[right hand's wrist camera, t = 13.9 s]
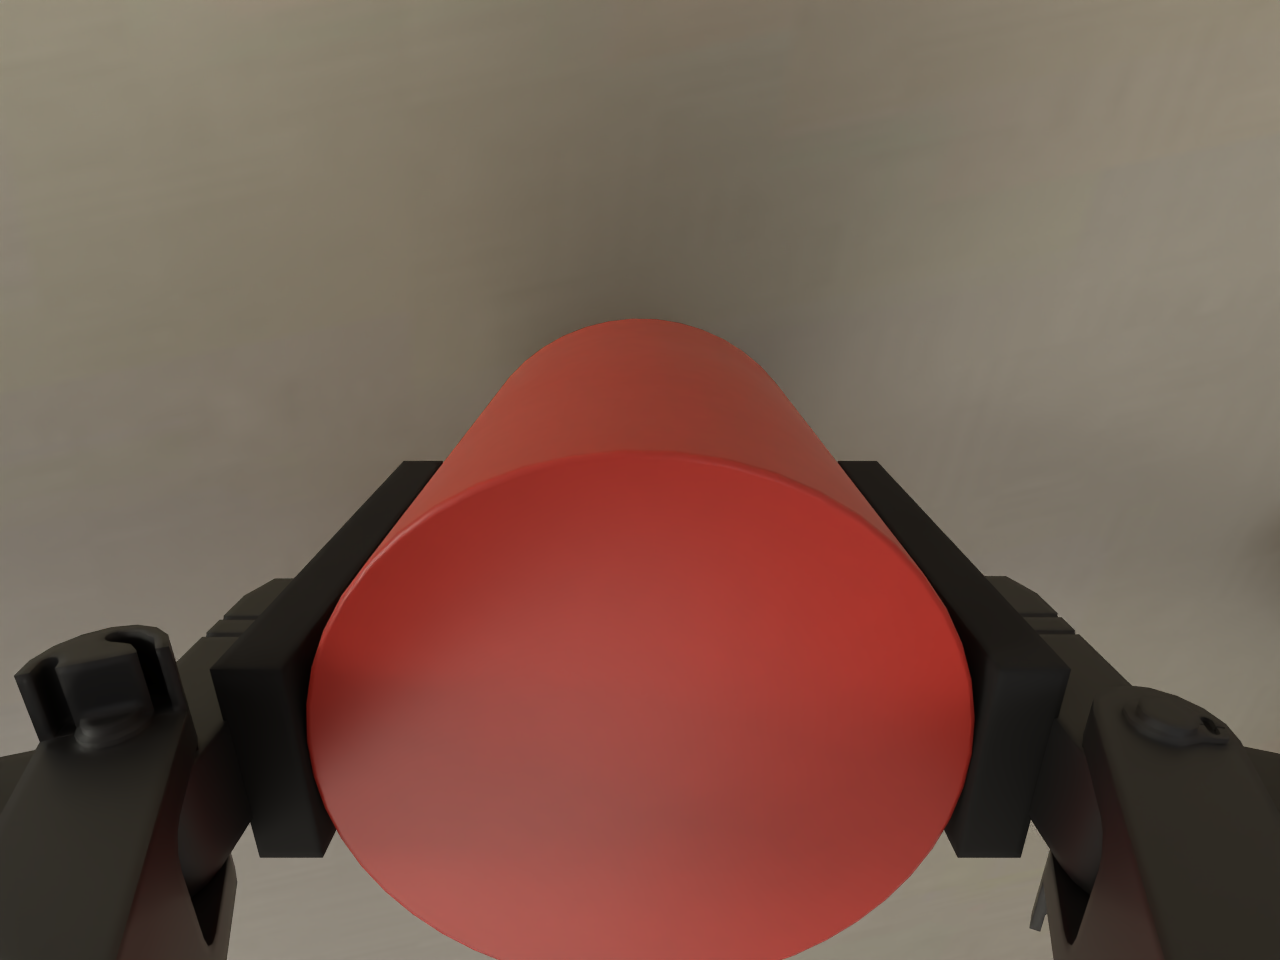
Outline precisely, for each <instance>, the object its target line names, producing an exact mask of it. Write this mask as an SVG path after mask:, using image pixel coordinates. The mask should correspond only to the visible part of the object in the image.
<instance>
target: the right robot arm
mask: <svg viewBox="0 0 1280 960" xmlns="http://www.w3.org/2000/svg"><path fill="white" fill-rule="evenodd" d="M442 464H443V461H403V462H402V463H401V465H400V466H399V467H398V468H397V469H396V470H395V471H394V472H393V473H392V474H391V475H390V476H389V477H388V478H387V479H386V481H385V482H384V483H383V484H382V485H381V486H380V487H379V488H378V489H377V490H376V491H375V492H374V493H373V494H372V496H371V497H370V498H369V499H368V500H367V501H366V502H365V503H364V504H363V505H362V506H361V507H360V508H359V509H358V511H357V512H356V513H355V514H354V515H353V516H352V517H351V518H350V519H349V520H348V521H347V522H346V523H345V524H344V526H343V527H342V528H341V529H340V530H339V531H338V532H337V533H336V534H335V535H334V536H333V537H332V538H331V539H330V541H329V542H328V543H327V544H326V545H325V546H324V547H323V548H322V549H321V550H320V551H319V552H318V553H317V554H316V556H315V557H314V558H313V559H312V560H311V561H310V562H309V563H308V564H307V565H306V566H305V567H304V568H303V569H302V571H301V572H300V573H299V574H298V575H297V576H296V577H295V578H294V579H273V580H272V581H270V582H268V583H266V584H264V585H263V586H261V587H259V588H257V589H255V590H254V591H252V592H250V593H248V594H246V595H245V596H243V597H242V598H241V599H240V600H239V601H238V602H237V603H236V604H235V605H234V606H233V607H232V608H231V609H230V610H229V611H228V612H227V613H226V614H225V615H224V619H223V620H219V621H218V622H217V623H216V624H215V625H214V626H213V627H212V628H211V629H210V630H209V631H208V632H207V635H206V637H202V638H201V639H200V640H199V641H198V642H197V643H195V644H194V645H193V646H192V647H191V648H190V649H189V650H188V651H187V652H186V653H185V654H184V655H183V656H182V657H181V658H180V659H179V660H178V661H177V662H176V661H175V657H174V654H173V650H172V647H171V643H170V640H169V636H168V634H166V633H165V632H163V631H162V630H160V629H159V628H157V627H150V626H143V625H130V626H120V627H111V628H107V629H103V630H99V631H95V632H91V633H87V634H83V635H80V636H78V637H75V638H73V639H70V640H68V641H65V642H63V643H60V644H58V645H55V646H53V647H52V648H50V649H48V650H47V651H45V652H43V653H41V654H40V655H38V656H36V657H35V658H33V659H31V660H30V661H29V662H28V663H27V664H26V665H25V666H24V667H23V668H22V669H21V670H20V671H18V672H17V673H16V674H15V675H14V677H15V680H16V682H17V685H18V687H19V690H20V693H21V695H22V698H23V700H24V703H25V705H26V708H27V710H28V713H29V715H30V718H31V721H32V723H33V726H34V728H35V731H36V733H37V736H38V738H39V741H40V743H39V745H38V746H37V748H36V750H34V751H29V752H24V753H19V754H14V755H9V756H4V757H0V960H227V953H228V946H229V938H230V931H231V924H232V917H233V909H234V902H235V895H236V887H237V877H236V871H235V865H234V862H233V858H232V855H231V851H232V850H233V848H234V847H235V845H236V844H237V842H238V840H239V839H240V837H241V836H242V834H243V833H244V831H245V829H246V828H247V826H248V825H249V823H250V822H251V826H252V830H253V834H254V837H255V841H256V845H257V848H258V852H259V856H260V858H323V856H324V854H325V852H326V850H327V848H328V846H329V844H330V842H331V840H332V838H333V835H334V833H335V831H336V828H335V826H334V824H333V822H332V820H331V818H330V816H329V815H328V813H327V811H326V809H325V807H324V804H323V801H322V798H321V795H320V793H319V790H318V787H317V784H316V781H315V779H314V776H313V771H312V765H311V760H310V755H309V750H308V744H307V720H306V701H307V694H308V687H309V681H310V674H311V667H312V664H313V661H314V657H315V654H316V651H317V648H318V645H319V642H320V639H321V636H322V633H323V630H324V628H325V626H326V624H327V622H328V620H329V619H330V617H331V615H332V613H333V611H334V609H335V607H336V605H337V603H338V601H339V599H340V597H341V596H342V594H343V593H344V592H345V590H346V589H347V588H348V586H349V585H350V584H351V582H352V581H353V580H354V578H355V577H356V576H357V574H358V573H359V571H360V570H361V569H362V567H363V566H364V565H365V563H366V562H367V561H368V560H369V558H370V557H371V556H372V554H373V553H374V552H375V550H376V549H377V548H378V547H379V545H380V544H381V543H382V541H383V540H384V539H385V538H386V536H387V535H388V534H389V532H390V531H391V530H392V528H393V527H394V526H395V525H396V523H397V522H398V521H399V519H400V518H401V517H402V516H403V514H404V513H405V512H406V510H407V509H408V508H409V506H410V505H411V504H412V503H413V501H414V500H415V499H416V497H417V496H418V495H419V494H420V492H421V491H422V490H423V488H424V487H425V486H426V484H427V483H428V482H429V481H430V479H431V478H432V477H433V475H434V474H435V473H436V472H437V470H438V469H439V468H440V466H441V465H442ZM838 464H839V465H840V467H841V468H842V469H843V470H844V472H845V473H846V474H847V476H848V477H849V478H850V479H851V481H852V482H853V483H854V485H855V486H856V487H857V488H858V490H859V491H860V492H861V494H862V495H863V496H864V497H865V499H866V500H867V501H868V503H869V504H870V505H871V507H872V508H873V509H874V510H875V512H876V513H877V514H878V516H879V517H880V518H881V519H882V521H883V522H884V523H885V525H886V526H887V527H888V528H889V530H890V531H891V532H892V534H893V535H894V536H895V537H896V539H897V540H898V541H899V543H900V544H901V545H902V547H903V548H904V549H905V550H906V552H907V553H908V554H909V556H910V557H911V558H912V559H913V561H914V562H915V563H916V565H917V566H918V567H919V568H920V570H921V571H922V572H923V574H924V575H925V576H926V578H927V579H928V581H929V583H930V584H931V586H932V587H933V589H934V590H935V592H936V593H937V595H938V596H939V598H940V599H941V601H942V602H943V604H944V605H945V607H946V608H947V610H948V613H949V615H950V617H951V619H952V622H953V624H954V626H955V628H956V631H957V633H958V635H959V637H960V640H961V642H962V644H963V648H964V652H965V656H966V660H967V664H968V668H969V671H970V675H971V679H972V690H973V702H974V714H975V722H974V734H973V746H972V755H971V759H970V763H969V767H968V771H967V775H966V780H965V784H964V787H963V790H962V792H961V795H960V797H959V799H958V802H957V804H956V807H955V809H954V811H953V814H952V816H951V818H950V820H949V822H948V824H947V825H946V827H945V829H944V830H945V833H946V835H947V837H948V839H949V841H950V843H951V845H952V847H953V849H954V851H955V853H956V855H957V857H958V858H1021V854H1022V850H1023V847H1024V843H1025V839H1026V835H1027V832H1028V828H1029V824H1030V821H1031V820H1032V822H1033V823H1034V825H1035V826H1036V828H1037V830H1038V831H1039V833H1040V834H1041V836H1042V837H1043V839H1044V841H1045V842H1046V844H1047V845H1048V847H1049V848H1050V852H1049V855H1048V858H1047V862H1046V865H1045V869H1044V872H1043V876H1042V879H1041V883H1040V886H1039V890H1038V893H1037V897H1036V900H1035V904H1034V907H1033V911H1032V915H1031V922H1030V928H1031V929H1034V930H1037V931H1040V930H1041V927H1042V924H1043V920H1044V917H1045V915H1046V914H1048V922H1049V929H1050V936H1051V944H1052V951H1053V958H1054V960H1280V754H1278V753H1273V752H1268V751H1263V750H1258V749H1253V748H1248V747H1244V746H1243V745H1242V743H1241V741H1240V740H1239V739H1238V738H1237V737H1236V735H1235V734H1234V733H1233V732H1232V731H1231V729H1230V728H1229V727H1228V726H1227V725H1226V724H1225V723H1224V722H1222V721H1221V720H1219V719H1218V718H1216V717H1215V716H1214V715H1212V714H1211V713H1209V712H1208V711H1206V710H1205V709H1204V708H1201V707H1199V706H1197V705H1195V704H1193V703H1191V702H1189V701H1187V700H1184V699H1182V698H1180V697H1178V696H1175V695H1172V694H1169V693H1165V692H1162V691H1158V690H1155V689H1152V688H1146V687H1137V686H1132V685H1131V684H1130V683H1129V682H1128V681H1127V680H1125V679H1124V678H1123V677H1122V676H1121V675H1120V674H1119V673H1118V672H1117V671H1116V670H1115V669H1114V668H1113V667H1112V666H1111V665H1110V664H1109V663H1108V662H1107V661H1106V660H1105V659H1104V658H1103V657H1102V656H1101V655H1100V654H1099V653H1098V652H1097V651H1096V650H1095V649H1094V648H1093V647H1092V646H1091V645H1089V644H1088V643H1087V642H1086V641H1085V640H1084V639H1083V638H1082V637H1081V636H1080V635H1079V634H1075V630H1074V629H1073V628H1072V627H1071V626H1070V625H1069V624H1068V623H1067V622H1066V621H1065V620H1064V619H1063V618H1062V617H1058V616H1057V612H1056V611H1054V610H1053V609H1052V608H1051V607H1050V606H1049V605H1048V604H1047V603H1046V602H1045V601H1044V600H1043V599H1042V598H1041V597H1040V596H1039V595H1038V594H1037V593H1035V592H1033V591H1032V590H1030V589H1028V588H1026V587H1024V586H1023V585H1021V584H1019V583H1017V582H1015V581H1014V580H1012V579H1010V578H1008V577H1006V576H984V575H983V574H982V573H981V572H980V571H979V570H978V569H977V568H976V567H975V566H974V565H973V564H972V563H971V561H970V560H969V559H968V558H967V557H966V556H965V555H964V554H963V553H962V552H961V551H960V550H959V549H958V548H957V546H956V545H955V544H954V543H953V542H952V541H951V540H950V539H949V538H948V537H947V536H946V535H945V534H944V533H943V531H942V530H941V529H940V528H939V527H938V526H937V525H936V524H935V523H934V522H933V521H932V520H931V519H930V518H929V516H928V515H927V514H926V513H925V512H924V511H923V510H922V509H921V508H920V507H919V506H918V505H917V504H916V503H915V501H914V500H913V499H912V498H911V497H910V496H909V495H908V494H907V493H906V492H905V491H904V490H903V489H902V488H901V486H900V485H899V484H898V483H897V482H896V481H895V480H894V479H893V478H892V477H891V476H890V475H889V474H888V473H887V471H886V470H885V469H884V468H883V467H882V466H881V465H880V464H879V463H878V462H877V461H838Z"/></svg>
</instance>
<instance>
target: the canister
mask: <svg viewBox="0 0 1280 960" xmlns="http://www.w3.org/2000/svg"><path fill="white" fill-rule="evenodd" d="M306 720H307V744H308V750H309V755H310V760H311V765H312V771H313V776H314V779H315V781H316V784H317V787H318V790H319V793H320V795H321V798H322V801H323V804H324V807H325V809H326V811H327V813H328V815H329V816H330V818H331V820H332V822H333V824H334V826H335V828H336V829H337V831H338V833H339V835H340V837H341V839H342V840H343V841H344V843H345V844H346V846H347V847H348V848H349V850H350V851H351V852H352V854H353V855H354V857H355V858H356V859H357V861H358V862H359V863H360V865H361V866H362V867H363V868H364V869H365V870H366V871H367V872H368V874H369V875H370V876H371V877H372V878H373V879H374V880H375V881H376V882H377V883H378V884H379V885H380V886H381V887H382V888H383V889H384V890H385V892H387V893H388V894H389V895H390V896H392V897H393V898H394V899H395V900H396V901H398V902H399V903H400V904H401V905H402V906H404V907H405V908H406V909H407V910H408V911H410V912H411V913H412V914H413V915H415V916H416V917H418V918H419V919H421V920H422V921H424V922H425V923H427V924H429V925H430V926H432V927H433V928H435V929H436V930H438V931H439V932H441V933H442V934H444V935H446V936H448V937H450V938H452V939H454V940H456V941H458V942H460V943H461V944H463V945H465V946H467V947H469V948H471V949H473V950H475V951H478V952H480V953H483V954H485V955H488V956H490V957H493V958H495V959H498V960H783V959H785V958H788V957H791V956H794V955H796V954H798V953H800V952H802V951H804V950H807V949H809V948H811V947H813V946H815V945H817V944H819V943H821V942H824V941H826V940H828V939H829V938H831V937H833V936H834V935H836V934H838V933H839V932H841V931H842V930H844V929H846V928H847V927H849V926H851V925H852V924H854V923H856V922H857V921H859V920H860V919H861V918H863V917H864V916H865V915H867V914H868V913H869V912H870V911H872V910H873V909H874V908H876V907H877V906H878V905H880V904H881V903H882V902H884V901H885V900H886V899H887V898H888V897H889V896H890V895H891V894H892V893H893V892H894V891H895V890H896V889H897V888H898V887H900V886H901V885H902V884H903V883H904V882H905V881H906V880H907V879H908V878H909V877H910V876H911V875H912V873H913V872H914V871H915V870H916V868H917V867H918V866H919V865H920V863H921V862H922V861H923V860H924V859H925V857H926V856H927V855H928V854H929V852H930V851H931V850H932V849H933V847H934V845H935V844H936V842H937V840H938V839H939V837H940V835H941V834H942V832H943V830H944V829H945V827H946V825H947V824H948V822H949V820H950V818H951V816H952V814H953V811H954V809H955V807H956V804H957V802H958V799H959V797H960V795H961V792H962V790H963V787H964V784H965V780H966V775H967V771H968V767H969V763H970V759H971V755H972V746H973V734H974V722H975V714H974V702H973V690H972V679H971V675H970V671H969V668H968V664H967V660H966V656H965V652H964V648H963V644H962V642H961V640H960V637H959V635H958V633H957V631H956V628H955V626H954V624H953V622H952V619H951V617H950V615H949V613H948V610H947V608H946V607H945V605H944V604H943V602H942V601H941V599H940V598H939V596H938V595H937V593H936V592H935V590H934V589H933V587H932V586H931V584H930V583H929V581H928V579H927V578H926V576H925V575H924V574H923V572H922V571H921V570H920V568H919V567H918V566H917V565H916V563H915V562H914V561H913V559H912V558H911V557H910V556H909V554H908V553H907V552H906V550H905V549H904V548H903V547H902V545H901V544H900V543H899V541H898V540H897V539H896V537H895V536H894V535H893V534H892V532H891V531H890V530H889V528H888V527H887V526H886V525H885V523H884V522H883V521H882V519H881V518H880V517H879V516H878V514H877V513H876V512H875V510H874V509H873V508H872V507H871V505H870V504H869V503H868V501H867V500H866V499H865V497H864V496H863V495H862V494H861V492H860V491H859V490H858V488H857V487H856V486H855V485H854V483H853V482H852V481H851V479H850V478H849V477H848V476H847V474H846V473H845V472H844V470H843V469H842V468H841V467H840V465H839V464H838V463H837V461H836V460H835V459H834V458H833V456H832V455H831V454H830V452H829V451H828V450H827V448H826V447H825V446H824V445H823V443H822V442H821V441H820V439H819V438H818V437H817V436H816V434H815V433H814V432H813V430H812V429H811V428H810V427H809V425H808V424H807V423H806V421H805V420H804V419H803V418H802V416H801V415H800V414H799V412H798V411H797V410H796V408H795V407H794V406H793V405H792V403H791V402H790V401H789V399H788V398H787V397H786V396H785V394H784V393H783V392H782V390H781V389H780V388H779V387H778V385H777V384H776V383H775V382H774V380H773V379H772V378H771V377H770V376H769V375H768V374H767V373H766V372H765V370H764V369H763V368H762V367H761V366H760V365H759V364H757V363H756V362H755V361H754V360H753V359H751V358H750V357H749V356H748V355H747V354H746V353H744V352H743V351H741V350H740V349H738V348H737V347H735V346H734V345H732V344H730V343H729V342H727V341H726V340H724V339H722V338H720V337H717V336H715V335H713V334H711V333H709V332H706V331H704V330H702V329H698V328H695V327H692V326H688V325H685V324H682V323H677V322H670V321H664V320H658V319H625V320H616V321H608V322H604V323H600V324H596V325H592V326H588V327H585V328H582V329H580V330H577V331H574V332H572V333H569V334H567V335H564V336H562V337H561V338H559V339H557V340H555V341H554V342H552V343H550V344H548V345H546V346H545V347H543V348H542V349H540V350H539V351H538V352H537V353H535V354H534V355H533V356H531V357H530V358H529V359H527V360H526V361H525V362H524V363H523V364H522V365H521V366H520V367H519V368H518V369H517V370H516V371H515V372H514V373H513V374H512V375H511V376H510V377H509V378H508V380H507V381H506V382H505V384H504V385H503V386H502V387H501V389H500V390H499V391H498V393H497V394H496V395H495V396H494V398H493V399H492V400H491V402H490V403H489V404H488V406H487V407H486V408H485V409H484V411H483V412H482V413H481V415H480V416H479V417H478V418H477V420H476V421H475V422H474V424H473V425H472V426H471V428H470V429H469V430H468V431H467V433H466V434H465V435H464V437H463V438H462V439H461V440H460V442H459V443H458V444H457V446H456V447H455V448H454V450H453V451H452V452H451V453H450V455H449V456H448V457H447V459H446V460H445V461H444V462H443V464H442V465H441V466H440V468H439V469H438V470H437V472H436V473H435V474H434V475H433V477H432V478H431V479H430V481H429V482H428V483H427V484H426V486H425V487H424V488H423V490H422V491H421V492H420V494H419V495H418V496H417V497H416V499H415V500H414V501H413V503H412V504H411V505H410V506H409V508H408V509H407V510H406V512H405V513H404V514H403V516H402V517H401V518H400V519H399V521H398V522H397V523H396V525H395V526H394V527H393V528H392V530H391V531H390V532H389V534H388V535H387V536H386V538H385V539H384V540H383V541H382V543H381V544H380V545H379V547H378V548H377V549H376V550H375V552H374V553H373V554H372V556H371V557H370V558H369V560H368V561H367V562H366V563H365V565H364V566H363V567H362V569H361V570H360V571H359V573H358V574H357V576H356V577H355V578H354V580H353V581H352V582H351V584H350V585H349V586H348V588H347V589H346V590H345V592H344V593H343V594H342V596H341V597H340V599H339V601H338V603H337V605H336V607H335V609H334V611H333V613H332V615H331V617H330V619H329V620H328V622H327V624H326V626H325V628H324V630H323V633H322V636H321V639H320V642H319V645H318V648H317V651H316V654H315V657H314V661H313V664H312V667H311V674H310V681H309V687H308V694H307V701H306Z"/></svg>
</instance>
